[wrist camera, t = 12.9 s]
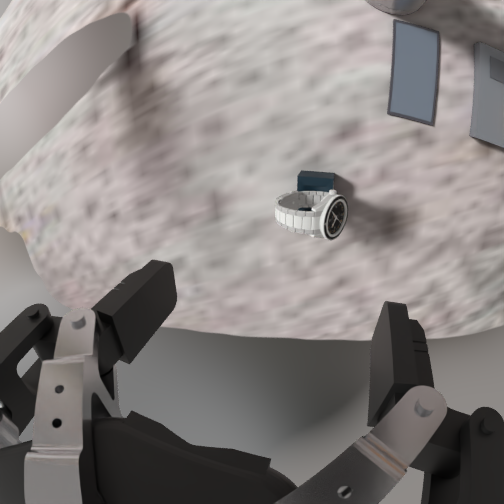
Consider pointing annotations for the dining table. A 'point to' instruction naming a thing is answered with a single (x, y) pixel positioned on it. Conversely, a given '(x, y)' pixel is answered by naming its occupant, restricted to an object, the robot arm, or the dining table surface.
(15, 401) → the robot arm
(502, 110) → the outlet plate
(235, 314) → the dining table surface
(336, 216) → the watch
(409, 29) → the phone
